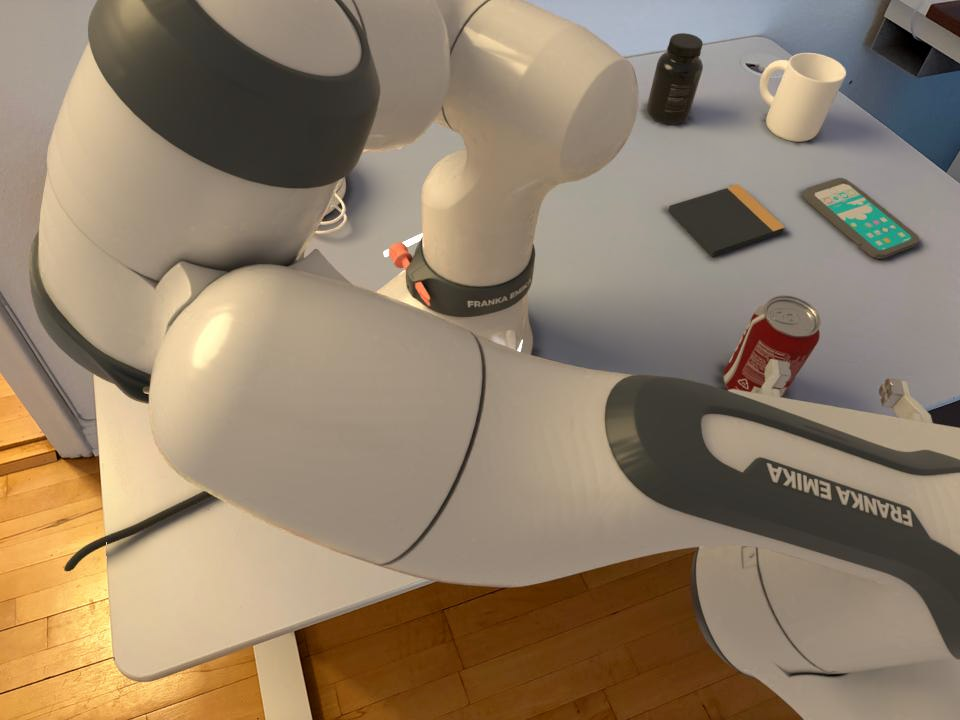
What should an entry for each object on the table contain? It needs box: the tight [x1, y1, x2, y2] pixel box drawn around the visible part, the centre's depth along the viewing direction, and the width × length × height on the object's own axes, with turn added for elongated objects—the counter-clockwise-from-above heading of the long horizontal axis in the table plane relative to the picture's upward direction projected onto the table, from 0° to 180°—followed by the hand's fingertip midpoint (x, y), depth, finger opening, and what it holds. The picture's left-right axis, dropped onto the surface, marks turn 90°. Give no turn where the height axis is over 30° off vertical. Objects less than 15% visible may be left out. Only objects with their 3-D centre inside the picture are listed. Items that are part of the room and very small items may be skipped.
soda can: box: [722, 294, 822, 398], centre depth 76 cm, size 7×7×12 cm
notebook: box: [667, 183, 785, 258], centre depth 98 cm, size 12×10×1 cm
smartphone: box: [802, 177, 920, 260], centre depth 100 cm, size 9×1×15 cm
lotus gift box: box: [315, 176, 348, 235], centre depth 95 cm, size 7×16×20 cm
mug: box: [759, 52, 847, 143], centre depth 111 cm, size 12×8×10 cm
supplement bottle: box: [646, 32, 704, 125], centre depth 110 cm, size 7×7×12 cm
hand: (834, 374), depth 60 cm, fingers open, 8 cm apart
